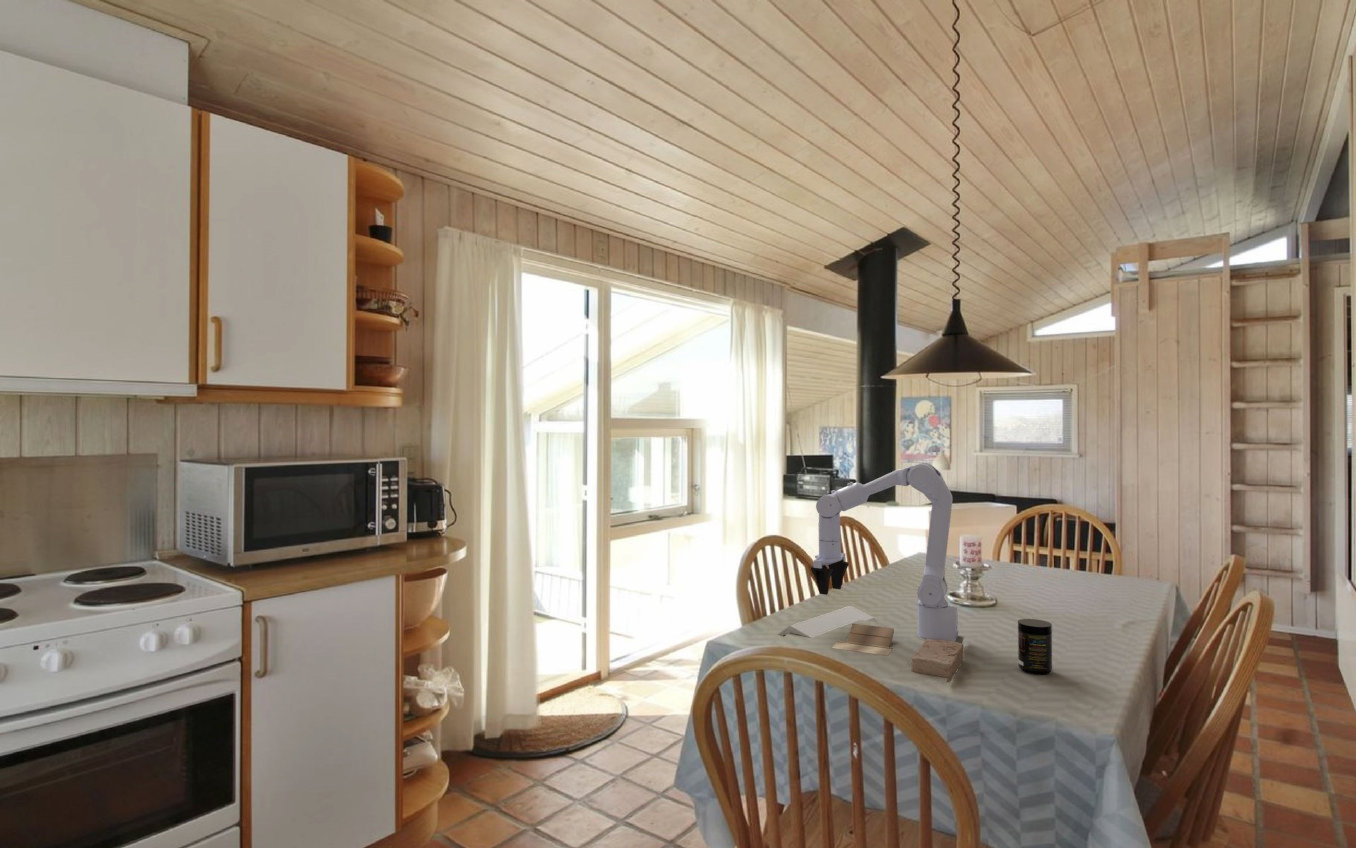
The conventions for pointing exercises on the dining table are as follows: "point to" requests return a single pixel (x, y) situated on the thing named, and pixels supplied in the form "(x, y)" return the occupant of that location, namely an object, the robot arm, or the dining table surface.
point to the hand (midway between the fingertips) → (830, 591)
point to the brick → (938, 658)
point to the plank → (871, 635)
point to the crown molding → (827, 622)
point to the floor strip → (862, 648)
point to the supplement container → (1035, 646)
